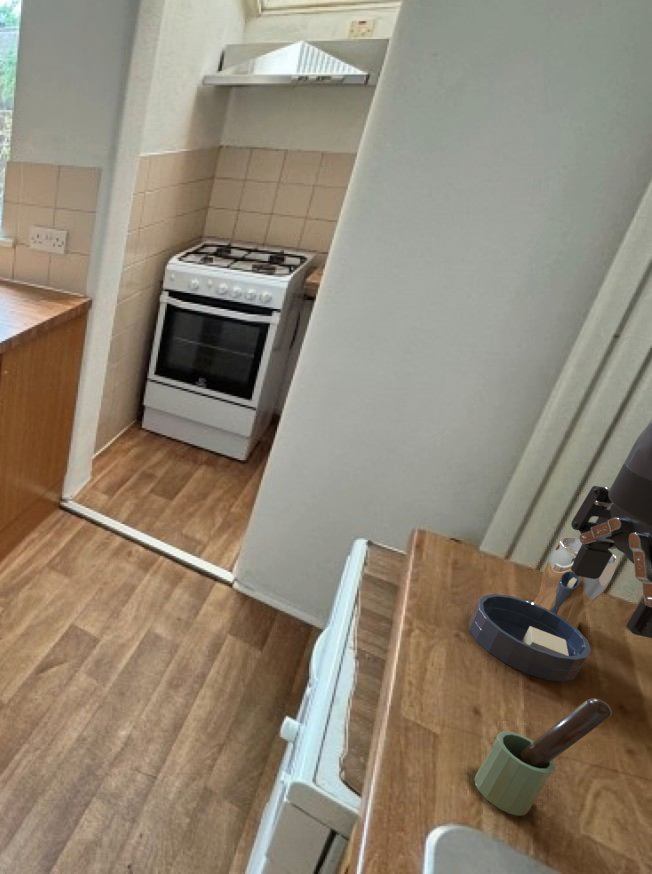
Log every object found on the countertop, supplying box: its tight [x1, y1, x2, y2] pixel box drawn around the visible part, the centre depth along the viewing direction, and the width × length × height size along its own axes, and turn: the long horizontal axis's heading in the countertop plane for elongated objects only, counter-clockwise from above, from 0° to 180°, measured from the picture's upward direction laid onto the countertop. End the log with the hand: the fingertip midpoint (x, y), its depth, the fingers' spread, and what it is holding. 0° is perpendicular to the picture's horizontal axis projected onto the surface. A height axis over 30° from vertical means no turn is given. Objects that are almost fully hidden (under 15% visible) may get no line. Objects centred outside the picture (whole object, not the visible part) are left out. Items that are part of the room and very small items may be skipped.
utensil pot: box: [474, 730, 556, 817], centre depth 74 cm, size 5×5×9 cm
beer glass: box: [531, 536, 620, 630], centre depth 99 cm, size 7×7×15 cm
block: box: [522, 626, 569, 656], centre depth 93 cm, size 4×4×4 cm
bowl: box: [467, 593, 592, 683], centre depth 95 cm, size 13×13×6 cm
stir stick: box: [515, 697, 613, 769], centre depth 72 cm, size 2×2×19 cm
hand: (610, 602), depth 64 cm, fingers open, 8 cm apart
